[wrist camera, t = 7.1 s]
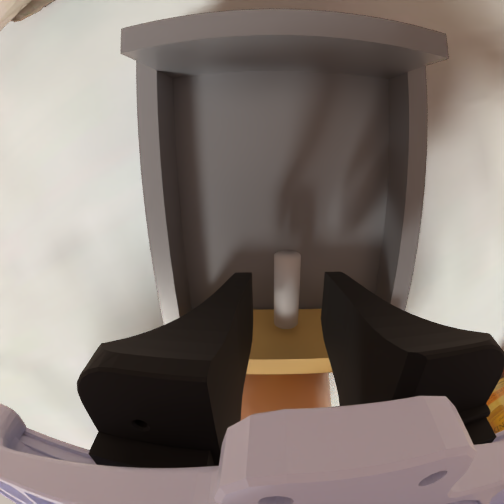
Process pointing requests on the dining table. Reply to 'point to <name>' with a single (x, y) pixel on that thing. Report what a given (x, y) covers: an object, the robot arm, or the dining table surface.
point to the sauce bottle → (497, 406)
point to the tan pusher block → (287, 327)
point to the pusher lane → (281, 149)
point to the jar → (284, 392)
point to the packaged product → (19, 9)
